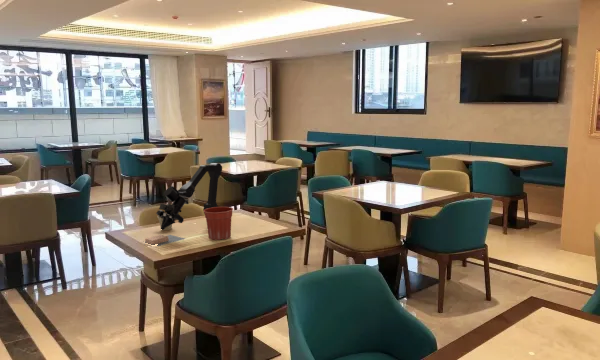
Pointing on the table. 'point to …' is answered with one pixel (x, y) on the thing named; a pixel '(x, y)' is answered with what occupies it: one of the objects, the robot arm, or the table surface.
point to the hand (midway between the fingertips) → (161, 229)
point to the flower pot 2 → (218, 222)
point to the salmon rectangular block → (156, 239)
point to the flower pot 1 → (161, 224)
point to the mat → (171, 240)
